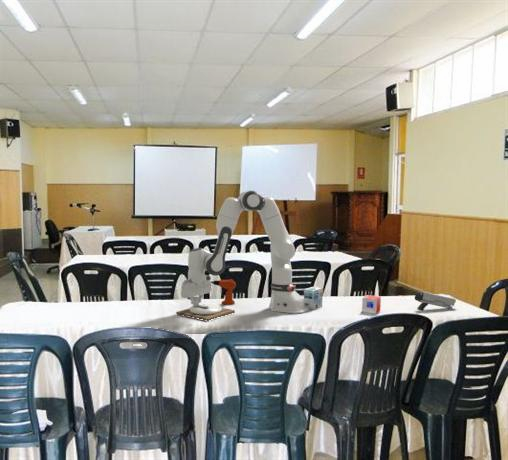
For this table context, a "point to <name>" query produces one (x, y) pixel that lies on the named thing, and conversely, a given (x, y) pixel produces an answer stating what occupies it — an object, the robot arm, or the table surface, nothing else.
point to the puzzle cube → (371, 304)
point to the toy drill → (226, 290)
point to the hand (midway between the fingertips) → (196, 303)
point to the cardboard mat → (206, 317)
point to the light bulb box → (313, 297)
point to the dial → (204, 308)
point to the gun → (433, 300)
